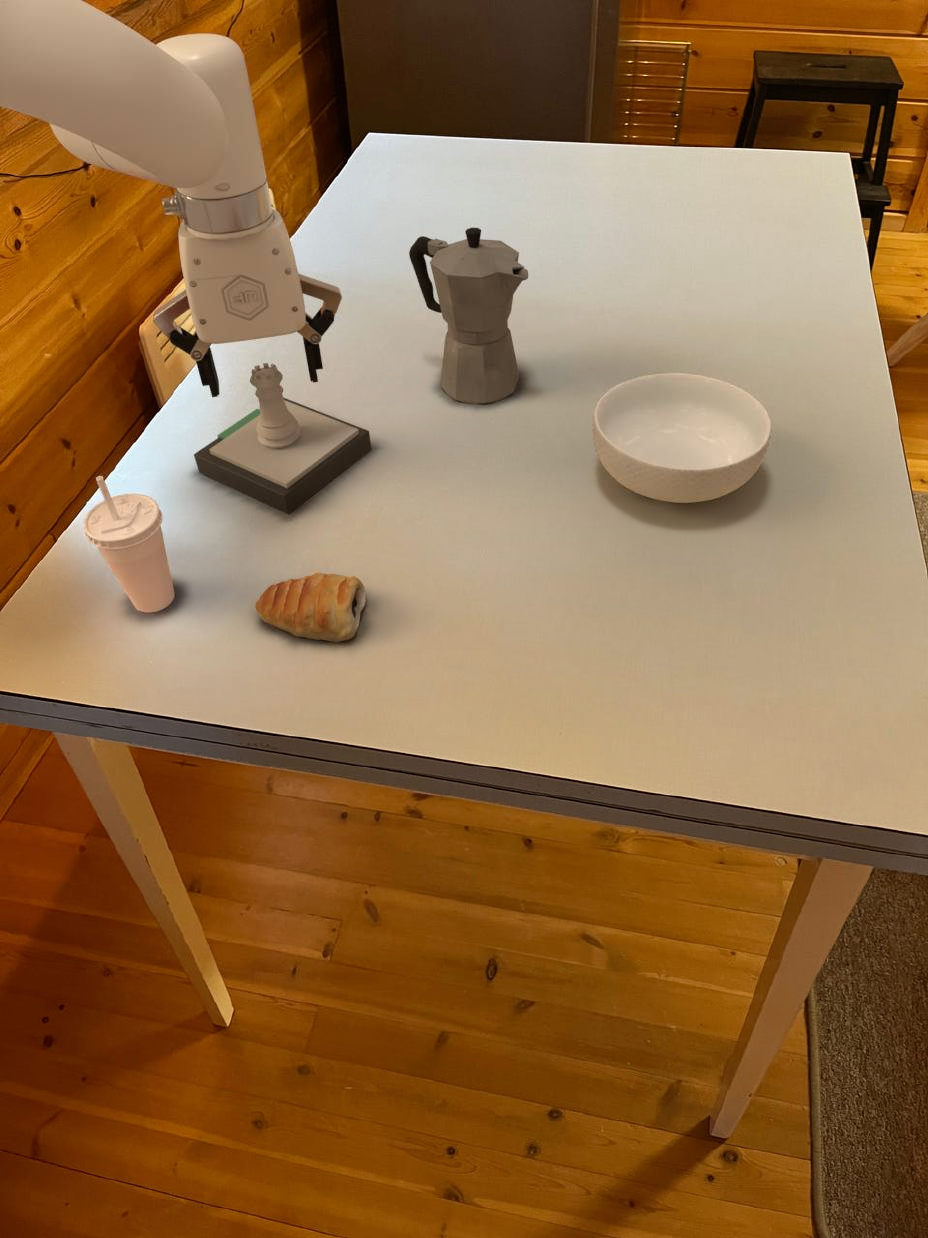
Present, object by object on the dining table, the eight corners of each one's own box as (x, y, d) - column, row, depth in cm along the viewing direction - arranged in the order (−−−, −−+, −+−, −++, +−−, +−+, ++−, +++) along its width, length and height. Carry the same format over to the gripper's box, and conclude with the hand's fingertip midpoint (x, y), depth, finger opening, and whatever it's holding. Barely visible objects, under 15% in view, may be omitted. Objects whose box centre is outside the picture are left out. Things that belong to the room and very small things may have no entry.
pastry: (250, 641, 80) (241, 609, 78) (270, 587, 85) (262, 556, 82) (357, 646, 79) (350, 614, 77) (371, 591, 84) (365, 560, 81)
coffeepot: (550, 381, 107) (552, 225, 94) (502, 420, 102) (498, 260, 89) (445, 345, 114) (434, 195, 101) (396, 380, 109) (378, 226, 96)
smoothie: (103, 610, 84) (46, 486, 74) (150, 566, 88) (102, 443, 78) (157, 632, 82) (106, 507, 72) (203, 586, 85) (161, 461, 75)
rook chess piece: (305, 426, 98) (292, 358, 92) (295, 451, 95) (280, 382, 89) (265, 425, 98) (249, 357, 93) (252, 449, 95) (235, 381, 89)
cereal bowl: (795, 496, 90) (811, 436, 85) (650, 551, 86) (658, 490, 81) (692, 412, 101) (701, 353, 96) (559, 456, 97) (561, 397, 92)
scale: (199, 473, 98) (191, 449, 96) (283, 414, 105) (278, 390, 103) (288, 514, 92) (283, 490, 90) (371, 449, 99) (368, 425, 97)
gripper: (121, 235, 76) (175, 416, 88) (332, 209, 78) (356, 389, 90) (125, 201, 81) (176, 376, 93) (322, 178, 83) (347, 352, 95)
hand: (264, 382), depth 91 cm, fingers open, 9 cm apart
